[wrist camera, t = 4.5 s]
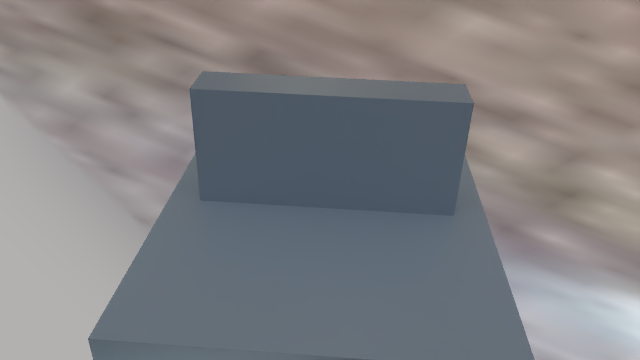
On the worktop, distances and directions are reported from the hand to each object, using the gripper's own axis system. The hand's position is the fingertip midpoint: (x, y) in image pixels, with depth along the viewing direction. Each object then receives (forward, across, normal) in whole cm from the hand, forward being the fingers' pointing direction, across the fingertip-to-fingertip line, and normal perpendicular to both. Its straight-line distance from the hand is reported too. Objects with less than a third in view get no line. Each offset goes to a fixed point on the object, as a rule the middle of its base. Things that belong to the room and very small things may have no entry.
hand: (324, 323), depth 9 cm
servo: (+2, 0, 0) cm, 2 cm away
